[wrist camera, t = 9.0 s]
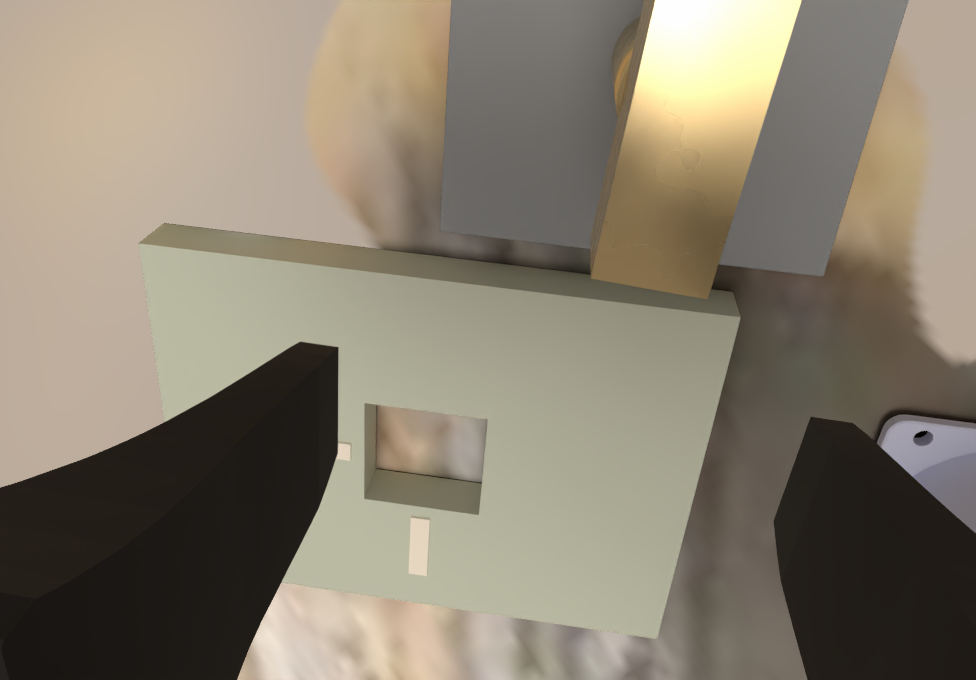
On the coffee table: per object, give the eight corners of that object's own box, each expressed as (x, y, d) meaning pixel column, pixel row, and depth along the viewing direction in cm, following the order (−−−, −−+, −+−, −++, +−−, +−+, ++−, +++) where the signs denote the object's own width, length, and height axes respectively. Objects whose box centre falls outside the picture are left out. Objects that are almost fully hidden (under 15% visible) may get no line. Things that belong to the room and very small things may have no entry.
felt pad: (953, -181, 17) (965, -183, 16) (817, 267, 22) (823, 276, 21) (467, -221, 17) (462, -223, 17) (443, 222, 22) (439, 231, 22)
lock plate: (732, 291, 22) (740, 319, 21) (654, 603, 28) (656, 641, 27) (164, 223, 23) (136, 245, 22) (204, 537, 29) (184, 570, 28)
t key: (680, 194, 20) (712, 300, 15) (585, 178, 21) (585, 277, 15) (753, -71, 18) (824, -53, 12) (642, -90, 18) (667, -80, 12)
